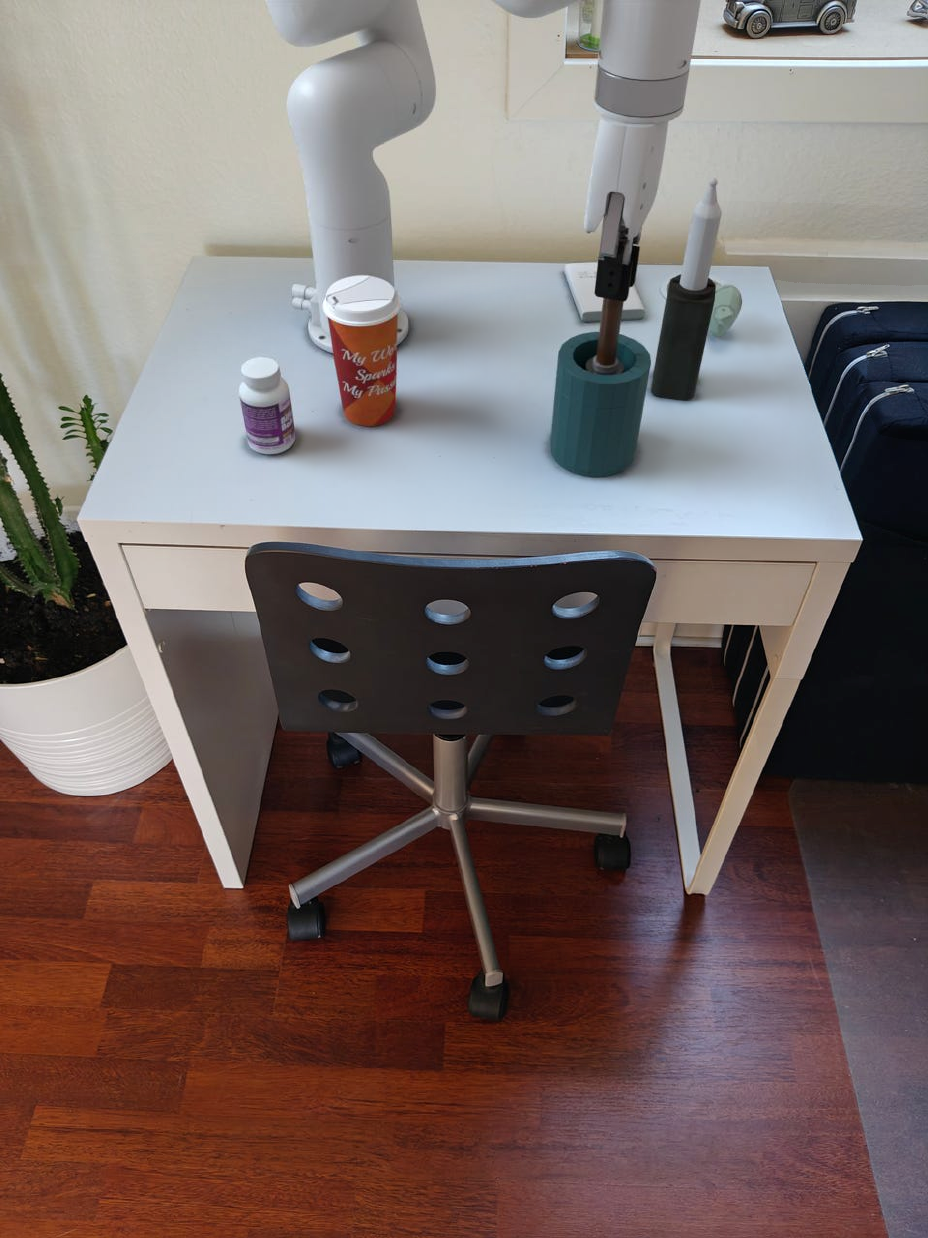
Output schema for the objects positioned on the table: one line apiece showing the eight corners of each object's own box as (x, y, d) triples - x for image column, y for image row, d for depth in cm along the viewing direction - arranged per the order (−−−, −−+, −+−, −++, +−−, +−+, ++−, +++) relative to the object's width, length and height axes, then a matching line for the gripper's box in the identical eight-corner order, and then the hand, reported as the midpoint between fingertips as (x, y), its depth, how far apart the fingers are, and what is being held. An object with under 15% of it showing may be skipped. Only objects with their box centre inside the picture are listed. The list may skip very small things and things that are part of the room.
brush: (576, 412, 106) (595, 242, 92) (586, 391, 108) (606, 222, 94) (613, 420, 105) (637, 249, 91) (622, 399, 107) (647, 229, 93)
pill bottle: (297, 454, 110) (286, 379, 103) (248, 458, 109) (234, 384, 102) (295, 424, 114) (284, 350, 106) (248, 428, 113) (234, 354, 106)
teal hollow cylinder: (539, 465, 109) (547, 372, 100) (563, 416, 115) (572, 324, 106) (623, 485, 107) (639, 391, 98) (643, 434, 113) (659, 341, 104)
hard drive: (581, 323, 128) (564, 273, 137) (643, 319, 129) (622, 270, 137) (582, 311, 127) (565, 262, 135) (645, 308, 128) (624, 259, 136)
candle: (693, 401, 117) (739, 191, 99) (649, 396, 118) (687, 186, 99) (695, 376, 121) (740, 169, 102) (653, 371, 121) (689, 164, 103)
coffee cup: (350, 440, 112) (339, 321, 101) (323, 401, 117) (309, 283, 105) (418, 419, 114) (414, 301, 103) (388, 382, 119) (382, 265, 108)
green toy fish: (695, 317, 129) (705, 269, 124) (726, 317, 130) (737, 269, 124) (707, 352, 124) (718, 303, 119) (739, 352, 124) (752, 303, 119)
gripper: (619, 49, 89) (597, 246, 102) (571, 117, 79) (554, 325, 92) (703, 60, 87) (669, 258, 101) (665, 131, 77) (633, 340, 91)
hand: (614, 289), depth 96 cm, fingers closed on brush, 2 cm apart
